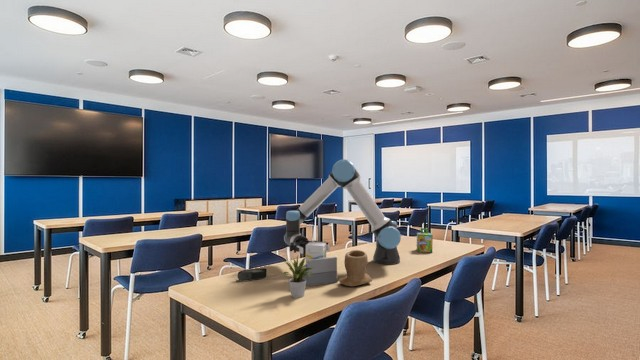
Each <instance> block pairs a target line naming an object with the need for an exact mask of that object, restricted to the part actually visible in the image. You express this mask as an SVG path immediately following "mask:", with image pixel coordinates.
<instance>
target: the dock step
mask: <svg viewBox="0 0 640 360" xmlns="http://www.w3.org/2000/svg"><path fill="white" fill-rule="evenodd" d="M311 260H312V261H311ZM309 261H310V262H309ZM308 262H309V263H308ZM307 263H308V264H307V268H315V269H310V270H307V271H306V272H312V273H313V274H311V273H307V274H310V276H309V275H305V276H304V277H303V278H304V279H306V285H307V287H313V286H318V285H319V286H320V284H321V285H327V284H334V283H338V271H337V270H338V258H337V256H331V257H326V258H320V259H310V260H307ZM302 267H304V265H303V266H302ZM304 268H305V269H306V266H305V267H304ZM302 269H303V268H302ZM303 270H304V269H303ZM301 271H302V270H301ZM306 272H305V274H306Z"/></svg>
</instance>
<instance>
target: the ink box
mask: <svg viewBox="0 0 640 360" xmlns="http://www.w3.org/2000/svg"><path fill="white" fill-rule="evenodd" d="M324 242H325V241H319V242H309V243H308V244H307V245H306V249H305V257H306V258H305V265H306V264H307V260H310V259H320V258H327V251H326V243H324ZM306 268H307V265H306Z"/></svg>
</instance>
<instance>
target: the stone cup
mask: <svg viewBox="0 0 640 360" xmlns="http://www.w3.org/2000/svg"><path fill="white" fill-rule="evenodd" d="M368 261H369V259H368V254H367V253H366V252H365V251H363V250H358V249H355V250H354V249H352V250H350V251H348V252H346V253H345V255H344V261H343V262H344V267H345V272H346V276H345V277H342V278H340V279H339V280H338V282H339V283H340V284H341V285H344V286H346V287H356V286H357V287H358V286H360V285H361V286H362V285H364V284H368V283H371V282H373V279H372V278H371V276H370V275H369V274H368V273H366V269H367V266H368Z"/></svg>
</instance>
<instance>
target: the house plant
mask: <svg viewBox="0 0 640 360" xmlns="http://www.w3.org/2000/svg"><path fill="white" fill-rule="evenodd" d="M299 254H300V253H299ZM299 254H297V256H296V259H295V258H293V262H289V261H288V260H289V258H286V259H285V260H282V262H284V263H285V264H286V265H287V266H288V269H289V270H290V271H291V272H292V274H290V272H288V271H284V272H283V273H282V274H283V275H284V276H291V277H292V278H290V279H289V280H288V284H289V285H288V286H289V290H290V291H289V292H290V296H291V297H292V298H295V299H298V298H303V297H305V290H306V279H304V278H303V277H304V276H305V275H309V276H310V274H307V273H311V274H313V273H312V272H306V271H307V270H310V269H315V268H306V269H305V268H304V267H305V266H306V265H307V264H308V263H309V262H310V261H309V262H308V263H307V264H306V256H305V257H303V258H302V260H301V261H300V262H299ZM311 261H312V260H311ZM291 263H292V265H291ZM302 266H304V267H302ZM302 268H303V269H304V270H303V269H302ZM301 270H302V271H301ZM305 272H306V274H305Z"/></svg>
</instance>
